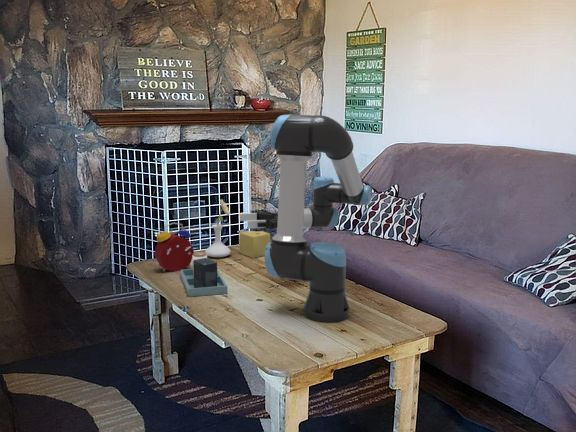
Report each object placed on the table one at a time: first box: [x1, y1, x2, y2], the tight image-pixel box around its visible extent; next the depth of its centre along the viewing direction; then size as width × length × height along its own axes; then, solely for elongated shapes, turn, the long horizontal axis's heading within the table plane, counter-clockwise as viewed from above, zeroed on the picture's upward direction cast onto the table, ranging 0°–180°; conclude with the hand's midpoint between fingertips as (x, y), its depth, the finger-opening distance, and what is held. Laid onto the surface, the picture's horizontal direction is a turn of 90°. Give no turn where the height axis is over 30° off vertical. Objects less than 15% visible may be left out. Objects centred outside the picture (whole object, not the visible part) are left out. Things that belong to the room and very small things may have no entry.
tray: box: [179, 268, 229, 298], centre depth 220 cm, size 24×14×3 cm, turn 17°
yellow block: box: [238, 230, 271, 259], centre depth 262 cm, size 10×11×10 cm
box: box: [192, 257, 218, 288], centre depth 214 cm, size 8×6×11 cm
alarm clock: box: [153, 222, 195, 272], centre depth 235 cm, size 15×9×20 cm, turn 123°
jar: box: [191, 251, 208, 278], centre depth 226 cm, size 6×6×10 cm
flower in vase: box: [204, 199, 232, 258], centre depth 258 cm, size 13×11×25 cm
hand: (243, 220), depth 217 cm, fingers open, 13 cm apart
